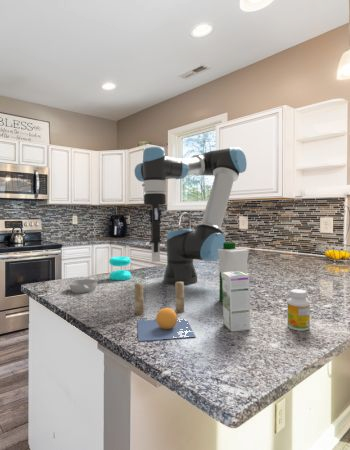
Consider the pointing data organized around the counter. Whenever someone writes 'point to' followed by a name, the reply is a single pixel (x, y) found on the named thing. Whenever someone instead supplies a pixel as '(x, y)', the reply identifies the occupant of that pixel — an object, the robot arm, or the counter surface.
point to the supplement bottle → (298, 310)
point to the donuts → (120, 273)
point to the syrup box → (236, 300)
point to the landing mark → (161, 330)
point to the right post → (179, 296)
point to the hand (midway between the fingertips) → (155, 261)
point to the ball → (166, 318)
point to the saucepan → (83, 285)
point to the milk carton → (231, 261)
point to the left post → (139, 299)
